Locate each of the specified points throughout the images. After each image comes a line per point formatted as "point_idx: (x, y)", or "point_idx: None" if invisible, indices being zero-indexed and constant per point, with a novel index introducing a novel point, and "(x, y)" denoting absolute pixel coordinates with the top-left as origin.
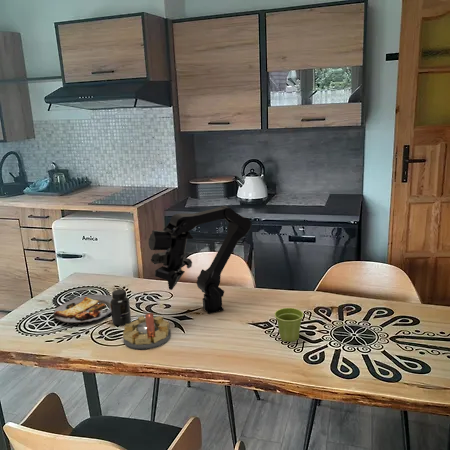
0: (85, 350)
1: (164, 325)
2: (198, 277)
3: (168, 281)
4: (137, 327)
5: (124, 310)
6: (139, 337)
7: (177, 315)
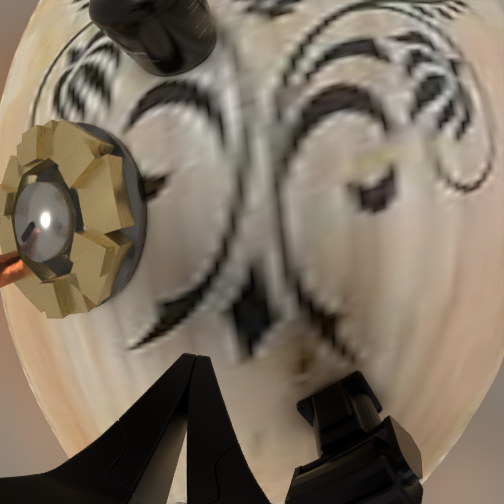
0: (23, 76)
1: (48, 306)
2: (384, 499)
3: (116, 429)
4: (22, 191)
5: (115, 42)
6: (2, 227)
7: (272, 282)
